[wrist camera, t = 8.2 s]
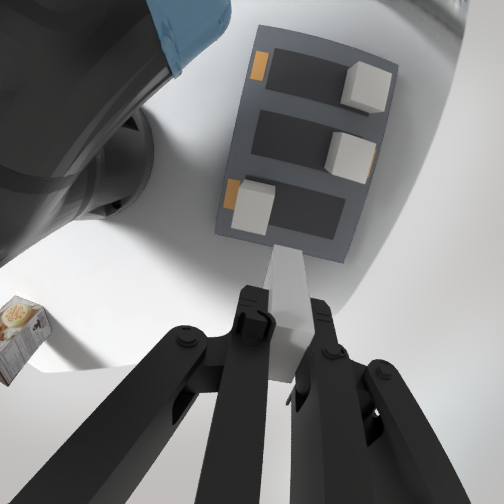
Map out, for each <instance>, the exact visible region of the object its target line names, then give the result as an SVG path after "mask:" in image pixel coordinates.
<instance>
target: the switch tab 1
mask: <svg viewBox="0 0 504 504" xmlns="http://www.w3.org/2000/svg"><path fill="white" fill-rule="evenodd" d="M274 197H275V186H273V185H268V184H264V183H260V182H255V181H251V180H246V179H244V181H243V182H242V184H241V185H240V187H239V190H238V195H237V200H236V205H235V210H234V215H233V220H232V225H231V228H234V229H239V230H243V231H248V232H252V233H256V234H261V235H265V234H266V230H267V226H268V222H269V218H270V214H271V209H272V205H273V201H274Z"/></svg>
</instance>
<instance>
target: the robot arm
mask: <svg viewBox="0 0 504 504" xmlns="http://www.w3.org/2000/svg"><path fill="white" fill-rule="evenodd" d="M230 19H231V1H230V0H0V268H1V267H3V266H4V265H5V264H7V263H8V262H9V261H11V260H12V259H14V258H15V257H17V256H18V255H19V254H21V253H22V252H24V251H25V250H27V249H28V248H30V247H31V246H33V245H34V244H36V243H37V242H39V241H40V240H42V239H43V238H45V237H47V236H48V235H50V234H51V233H53V232H55V231H56V230H58V229H59V228H61V227H63V226H64V225H66V224H68V223H69V222H71V221H73V220H97V219H104V218H107V217H110V216H113V215H115V214H117V213H118V212H120V211H121V210H123V209H125V208H126V207H128V206H129V205H130V204H132V203H133V202H134V201H135V200H136V199H137V198H138V196H139V195H140V194H141V192H142V191H143V189H144V187H145V186H146V183H147V181H148V179H149V176H150V173H151V169H152V164H153V153H154V149H153V138H152V133H151V130H150V126H149V124H148V121H147V119H146V117H145V116H144V114H143V112H142V111H141V110H140V107H141V106H142V105H143V104H144V103H145V102H146V101H147V100H148V99H149V98H151V97H152V96H153V95H154V94H155V93H156V92H157V91H158V90H159V89H161V88H162V87H163V86H164V85H165V84H166V83H167V82H169V81H170V80H171V79H172V78H173V77H174V79H176V78H177V77H179V76H180V75H181V73H182V69H183V68H184V67H185V66H186V65H188V64H189V63H190V62H191V61H192V60H193V59H194V58H195V57H196V56H198V55H199V54H200V53H201V52H202V51H203V50H205V49H206V48H207V47H208V46H210V45H211V44H212V43H213V42H215V41H216V40H217V39H218V38H219V37H221V36H222V34H223V33H224V32H225V30H226V29H227V27H228V25H229V22H230ZM294 376H295V380H296V384H295V386H294V388H293V390H292V392H291V393H290V395H289V398H288V399H287V401H286V405H289V403H290V401H291V403H292V404H291V480H290V504H471V503H470V500H469V498H468V496H467V494H466V492H465V490H464V488H463V486H462V483H461V482H460V480H459V478H458V476H457V474H456V472H455V470H454V468H453V466H452V464H451V462H450V460H449V458H448V456H447V454H446V453H445V451H444V449H443V447H442V445H441V443H440V442H439V440H438V438H437V436H436V434H435V433H434V431H433V429H432V427H431V426H430V424H429V422H428V420H427V419H426V417H425V415H424V413H423V412H422V410H421V408H420V407H419V405H418V403H417V402H416V400H415V398H414V397H413V395H412V393H411V392H410V390H409V388H408V387H407V385H406V383H405V382H404V380H403V379H402V377H401V375H400V374H399V372H398V370H397V369H396V368H395V367H394V366H393V365H392V364H390V363H389V362H387V361H385V360H381V359H376V360H372V361H371V362H370V363H369V364H368V366H365V365H363V364H360V363H357V362H355V361H353V360H351V359H349V355H348V353H347V351H346V349H345V348H344V347H343V346H342V345H340V344H338V340H337V336H336V332H335V328H334V324H333V319H332V314H331V310H330V307H329V306H328V305H327V304H326V302H325V301H324V300H319V299H314V298H310V296H309V289H308V283H307V277H306V271H305V265H304V259H303V253H302V250H297V249H293V248H289V247H285V246H280V245H276V244H274V247H273V251H272V255H271V259H270V262H269V266H268V270H267V274H266V277H265V281H264V285H263V288H258V287H254V286H249V285H246V286H245V287H244V288H243V289H242V290H241V292H240V296H239V301H238V305H237V309H236V314H235V318H234V323H233V327H232V329H231V331H230V332H229V333H227V334H226V335H223V336H220V337H207V336H206V335H205V334H204V332H203V331H201V330H199V329H198V328H196V327H192V326H185V325H181V326H177V327H174V328H173V329H171V330H170V331H169V332H168V333H167V334H166V335H165V336H164V337H163V338H162V339H161V340H160V341H159V342H158V343H157V344H156V345H155V346H154V348H153V349H152V350H151V351H150V352H149V353H148V354H147V355H146V356H145V357H144V358H143V359H142V360H141V361H140V362H139V363H138V365H137V366H136V367H135V368H134V369H133V370H132V371H131V372H130V373H129V374H128V375H127V376H126V378H124V379H123V381H122V382H121V383H120V384H119V385H118V386H117V387H116V388H115V389H114V391H112V393H110V395H108V397H107V398H106V399H105V400H104V401H103V402H102V403H101V404H100V405H99V406H98V407H97V408H96V410H95V411H94V412H93V413H92V414H91V415H90V416H89V417H88V418H87V419H86V420H85V421H84V422H83V423H82V425H81V426H80V427H79V428H78V429H77V430H76V431H75V432H74V433H73V434H72V435H71V436H70V438H69V439H68V440H67V441H66V442H65V443H64V444H63V445H62V446H61V447H60V448H59V449H58V450H57V452H56V453H55V454H54V455H53V456H52V457H51V458H50V459H49V460H48V461H47V462H46V464H45V465H44V466H43V467H42V468H41V469H40V470H39V471H38V472H37V473H36V474H35V476H34V477H33V478H32V479H31V480H30V481H29V482H28V483H27V484H26V485H25V486H24V487H23V489H22V490H21V491H20V492H19V493H18V494H17V495H16V496H15V497H14V498H13V500H12V501H11V502H10V503H9V504H125V503H126V501H127V500H128V499H129V497H130V496H131V494H132V493H133V492H134V490H135V489H136V487H137V486H138V485H139V483H140V482H141V480H142V479H143V477H144V476H145V474H146V473H147V472H148V470H149V469H150V467H151V466H152V464H153V463H154V461H155V460H156V459H157V457H158V455H159V454H160V453H161V451H162V450H163V448H164V447H165V445H166V444H167V442H168V441H169V439H170V438H171V436H172V435H173V433H174V432H175V430H176V429H177V427H178V426H179V424H180V423H181V421H182V420H183V418H184V417H185V415H186V414H187V412H188V411H189V409H190V408H191V406H192V405H193V403H194V401H195V400H196V398H197V397H198V395H199V393H208V392H209V393H211V392H218V396H217V400H216V404H215V409H214V413H213V418H212V423H211V427H210V432H209V437H208V442H207V446H206V451H205V456H204V460H203V465H202V469H201V474H200V479H199V483H198V489H197V493H196V498H195V502H194V504H259V499H260V488H261V487H260V486H261V474H262V463H263V450H264V437H265V422H266V406H267V390H268V380H273V381H279V382H285V383H291V382H292V380H293V378H294ZM376 408H377V410H378V412H379V414H380V415H379V416H377V415H376V413H375V410H376Z"/></svg>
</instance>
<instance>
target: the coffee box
mask: <svg viewBox="0 0 504 504" xmlns="http://www.w3.org/2000/svg"><path fill="white" fill-rule="evenodd" d="M51 332H52V331H51V328H50V325H49V322H48V320H47V317H46V314H45V311H44V308H43V306H41V305H38V304H35V303H33V302H30V301H27V300H25V299H22V298H20V297H17V296H14V297H13V298H12V299H11V300H10V301H9V302H7V303H6V304H5V305H4V306H3V307H2V308H1V309H0V382H2V383H3V384H4V385H6V386H7V387H8V386H9V385H10V383H11V382H12V381H13V379H14V378H15V377H16V375H17V374H18V373H19V372H20V370H21V369H22V367H23V366H24V365H25V364H26V362H27V361H28V360H29V359H30V357H31V356H32V355H33V354H34V352H35V351H36V350H37V349H38V348H39V346H40V345H41V344H42V343H43V342H44V340H45V339H46V338H47V337H48V336H49V334H50V333H51Z"/></svg>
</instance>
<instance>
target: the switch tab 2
mask: <svg viewBox="0 0 504 504" xmlns="http://www.w3.org/2000/svg"><path fill="white" fill-rule="evenodd" d="M391 77H392V74H391V73H389V72H387V71H384V70H382V69H379V68H377V67H374V66H371V65H369V64H366V63H363V62H360V61H358V62H357V63H356V64H354V65H353V66H352V67H351V68H349V69H348V71H347V75H346V80H345V84H344V89H343V93H342V98H341V102H340V103H341V104H344V105H347V106H350V107H353V108H356V109H359V110H362V111H365V112H367V113H377V112H384V110H385V106H386V101H387V97H388V92H389V87H390V82H391Z"/></svg>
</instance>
